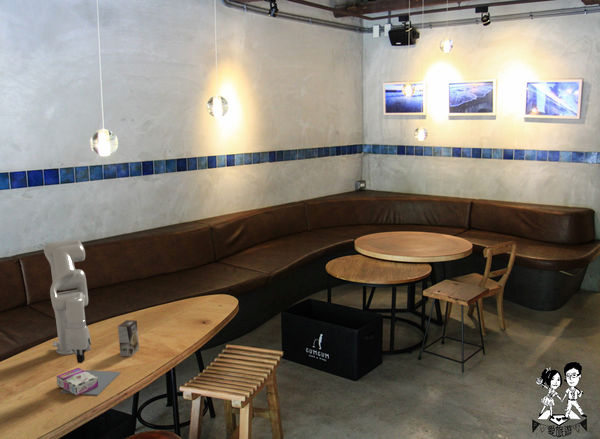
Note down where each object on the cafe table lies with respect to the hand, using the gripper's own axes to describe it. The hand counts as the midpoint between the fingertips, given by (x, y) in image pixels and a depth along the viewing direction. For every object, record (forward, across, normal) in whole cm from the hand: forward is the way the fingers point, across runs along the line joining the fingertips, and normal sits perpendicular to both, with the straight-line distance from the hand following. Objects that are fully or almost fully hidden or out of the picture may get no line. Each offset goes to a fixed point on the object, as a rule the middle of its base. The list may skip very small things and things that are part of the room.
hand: (81, 361), depth 272 cm
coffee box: (+10, +7, +34) cm, 36 cm away
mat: (+10, +4, 0) cm, 11 cm away
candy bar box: (+7, -7, -1) cm, 10 cm away
